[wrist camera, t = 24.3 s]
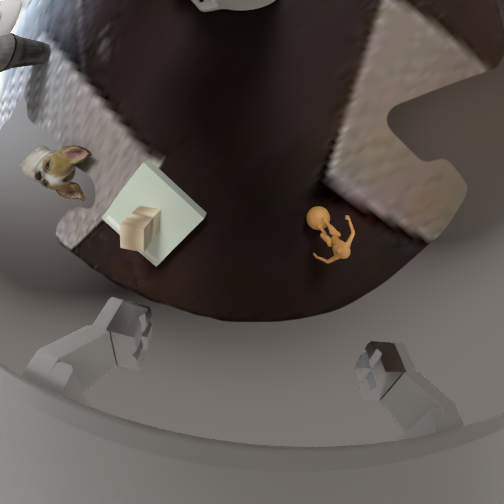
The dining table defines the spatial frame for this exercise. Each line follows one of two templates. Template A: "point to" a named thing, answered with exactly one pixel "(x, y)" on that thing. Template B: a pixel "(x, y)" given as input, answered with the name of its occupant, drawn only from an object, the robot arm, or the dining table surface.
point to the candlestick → (9, 15)
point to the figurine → (320, 220)
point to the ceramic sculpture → (56, 169)
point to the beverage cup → (21, 52)
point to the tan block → (140, 228)
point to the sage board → (161, 197)
